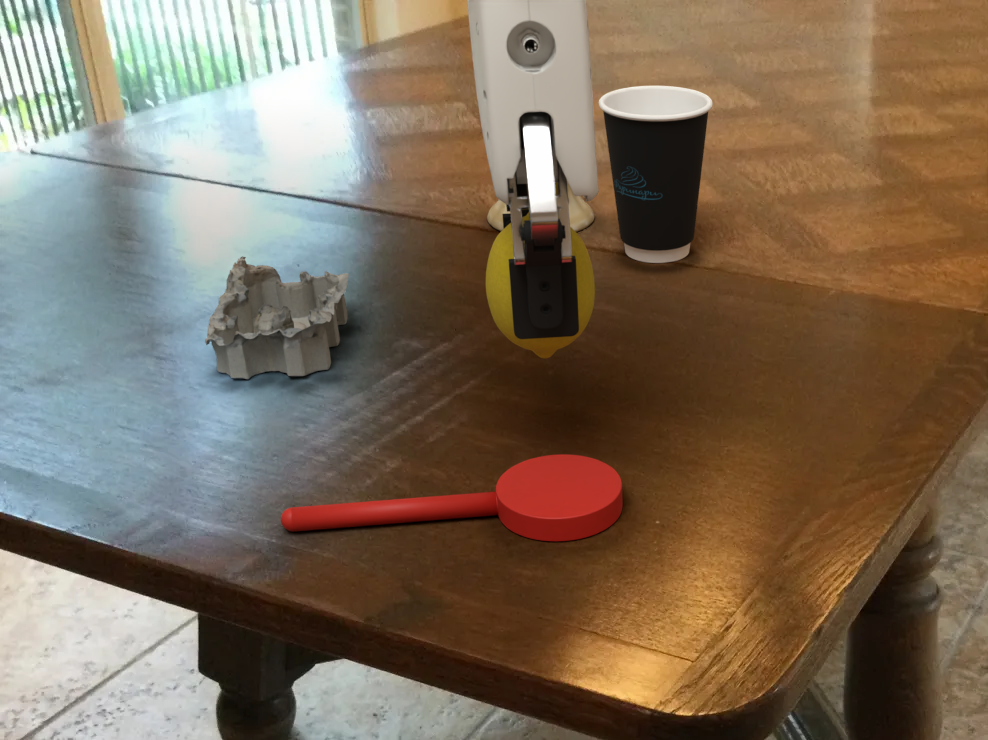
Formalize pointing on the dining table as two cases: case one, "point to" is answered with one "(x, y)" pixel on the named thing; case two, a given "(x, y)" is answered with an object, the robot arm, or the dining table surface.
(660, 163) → the dixie cup
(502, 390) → the dining table surface
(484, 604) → the dining table surface
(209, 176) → the dining table surface
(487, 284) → the lemon
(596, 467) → the red lollipop
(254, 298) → the egg carton
